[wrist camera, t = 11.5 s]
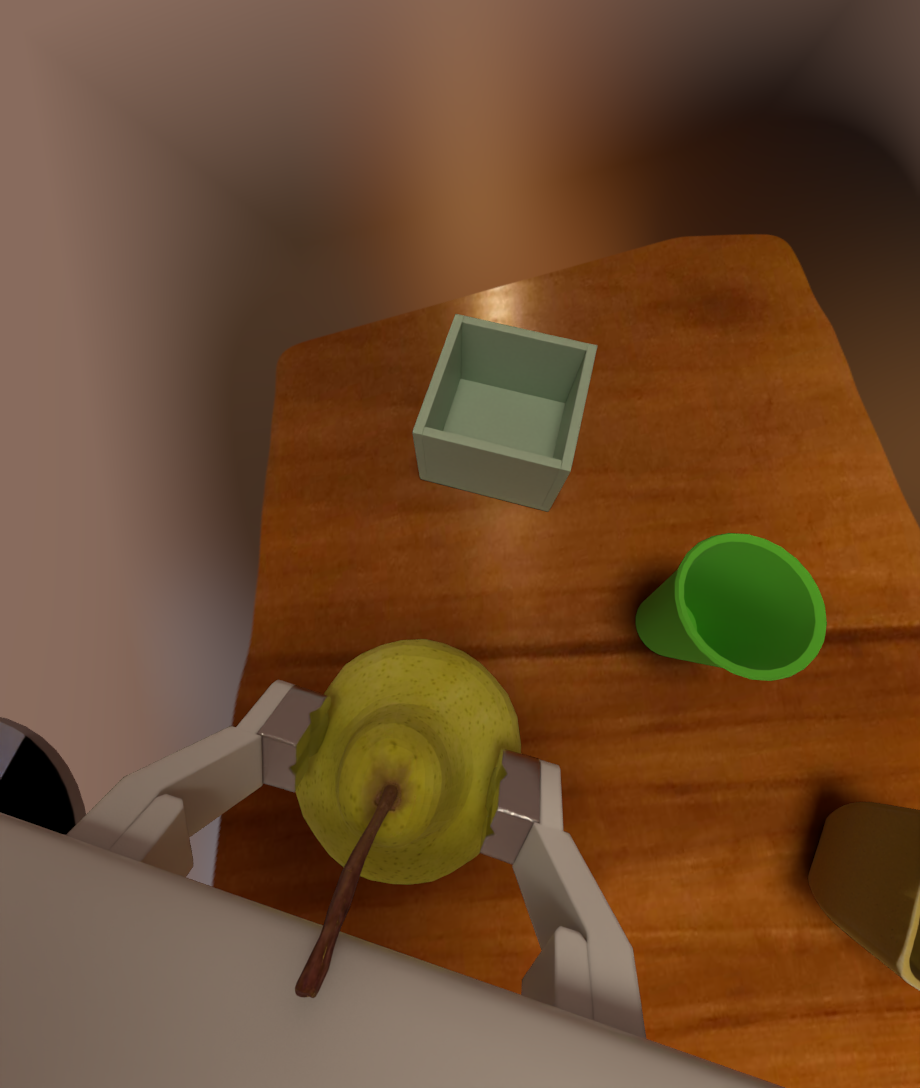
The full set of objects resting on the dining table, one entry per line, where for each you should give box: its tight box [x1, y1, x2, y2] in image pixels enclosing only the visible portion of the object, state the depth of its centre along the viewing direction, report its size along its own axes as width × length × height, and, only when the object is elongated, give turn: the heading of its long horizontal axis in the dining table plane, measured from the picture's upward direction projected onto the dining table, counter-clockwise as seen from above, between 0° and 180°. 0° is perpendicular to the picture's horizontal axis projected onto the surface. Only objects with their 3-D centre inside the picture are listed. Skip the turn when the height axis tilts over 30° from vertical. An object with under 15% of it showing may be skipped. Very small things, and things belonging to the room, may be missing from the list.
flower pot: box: [808, 802, 920, 991], centre depth 26 cm, size 9×9×9 cm
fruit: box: [295, 639, 521, 998], centre depth 11 cm, size 7×7×12 cm
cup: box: [636, 533, 827, 681], centre depth 30 cm, size 9×9×11 cm
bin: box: [412, 314, 597, 512], centre depth 37 cm, size 13×13×8 cm
